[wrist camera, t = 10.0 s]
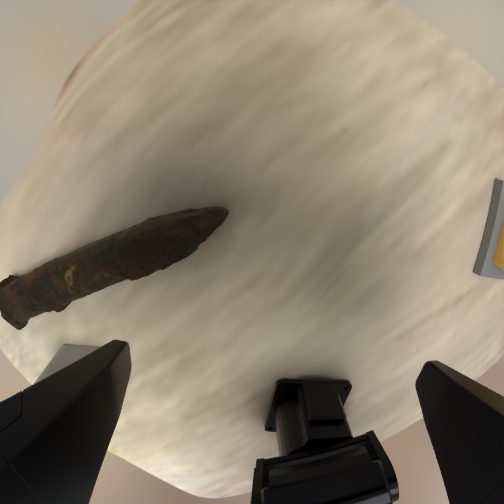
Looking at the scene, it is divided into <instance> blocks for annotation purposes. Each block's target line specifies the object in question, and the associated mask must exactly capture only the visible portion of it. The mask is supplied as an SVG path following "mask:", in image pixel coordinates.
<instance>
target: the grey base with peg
mask: <svg viewBox="0 0 504 504" xmlns="http://www.w3.org/2000/svg"><path fill="white" fill-rule="evenodd" d="M503 221H504V181H502V180H497V179H495V183H494V189H493V195H492V200H491V205H490V210H489V214H488V219H487V223H486V227H485V231H484V235H483V239H482V243H481V247H480V250H479V254H478V257H477V261H476V264H475V267H474V270H473V272H474V273H476V274H477V275H479V276H483V277H490V278H498V279H504V270H503V269H501V268H500V267H498V266H496V265H495V264H493V263H492V262H493V259H494V256H495V252H496V249H497V245H498V242H499V238H500V234H501V230H502V226H503Z"/></svg>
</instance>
